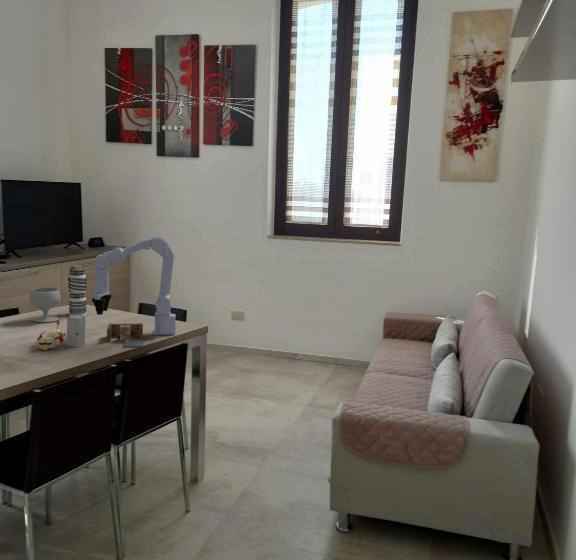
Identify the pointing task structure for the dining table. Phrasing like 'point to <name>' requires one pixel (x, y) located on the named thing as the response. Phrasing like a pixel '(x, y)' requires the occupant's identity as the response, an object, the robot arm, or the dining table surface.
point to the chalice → (45, 302)
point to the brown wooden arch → (135, 330)
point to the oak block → (124, 332)
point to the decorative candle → (77, 290)
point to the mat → (133, 344)
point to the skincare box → (75, 331)
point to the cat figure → (51, 338)
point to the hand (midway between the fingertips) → (102, 312)
